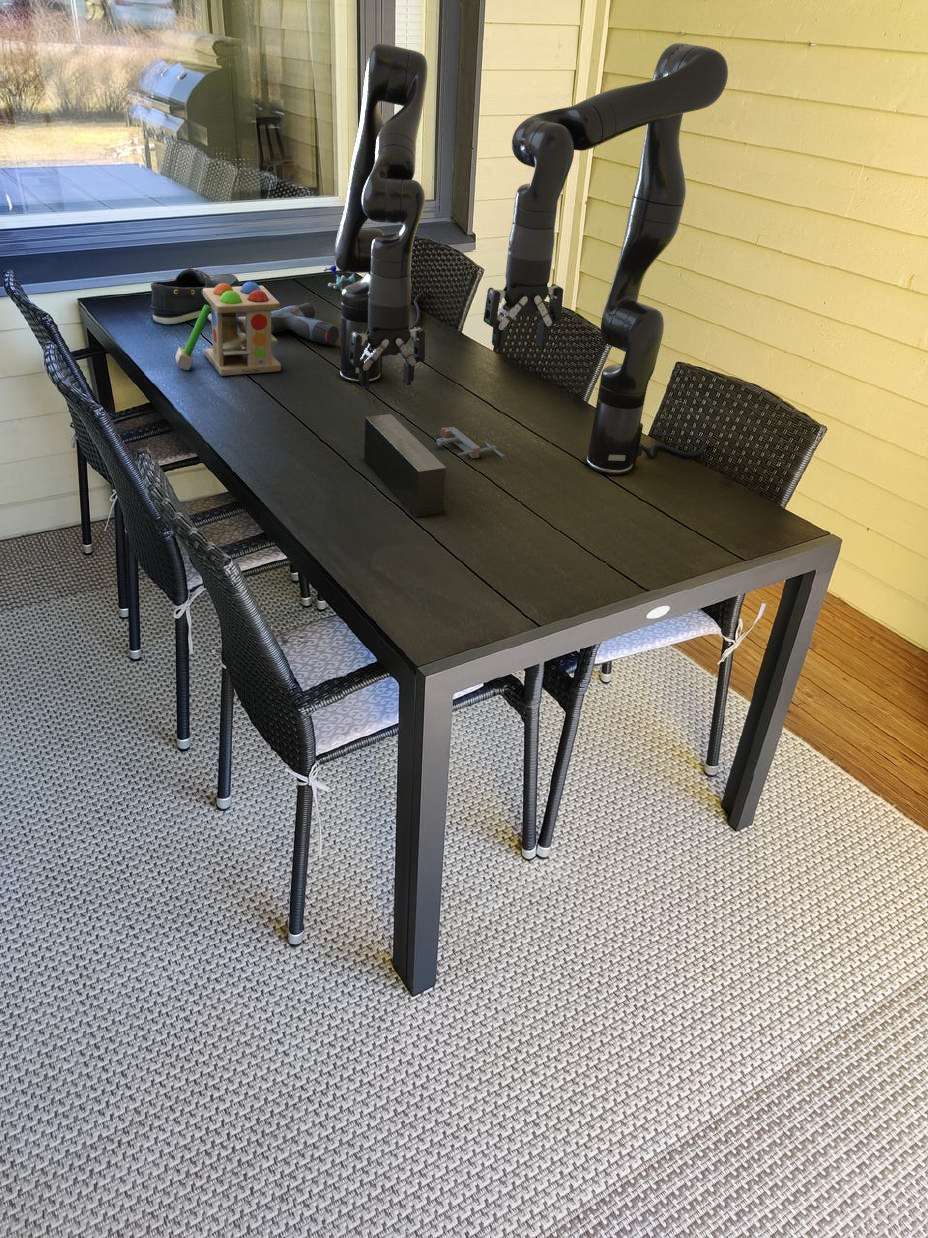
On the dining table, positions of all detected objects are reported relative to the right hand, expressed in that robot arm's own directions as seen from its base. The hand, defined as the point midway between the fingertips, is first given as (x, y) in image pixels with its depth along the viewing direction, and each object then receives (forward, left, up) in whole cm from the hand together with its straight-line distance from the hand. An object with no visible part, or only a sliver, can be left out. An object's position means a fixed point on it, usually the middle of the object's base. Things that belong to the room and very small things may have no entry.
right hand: (519, 347), depth 173 cm
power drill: (-4, -93, -28) cm, 98 cm away
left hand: (+16, -18, -12) cm, 27 cm away
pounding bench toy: (+24, -80, -28) cm, 88 cm away
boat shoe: (+15, -122, -28) cm, 126 cm away
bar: (+17, -9, -28) cm, 34 cm away
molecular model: (-29, -125, -28) cm, 131 cm away
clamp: (-3, -17, -28) cm, 33 cm away
